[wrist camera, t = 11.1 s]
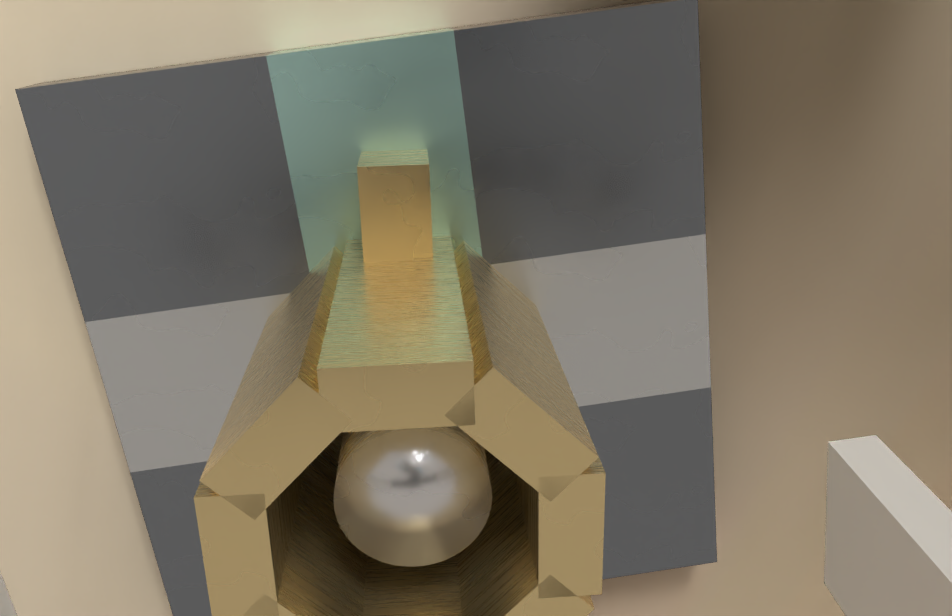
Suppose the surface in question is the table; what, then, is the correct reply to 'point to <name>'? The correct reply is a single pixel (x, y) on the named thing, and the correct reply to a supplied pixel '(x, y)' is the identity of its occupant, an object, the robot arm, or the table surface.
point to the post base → (453, 214)
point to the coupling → (401, 407)
